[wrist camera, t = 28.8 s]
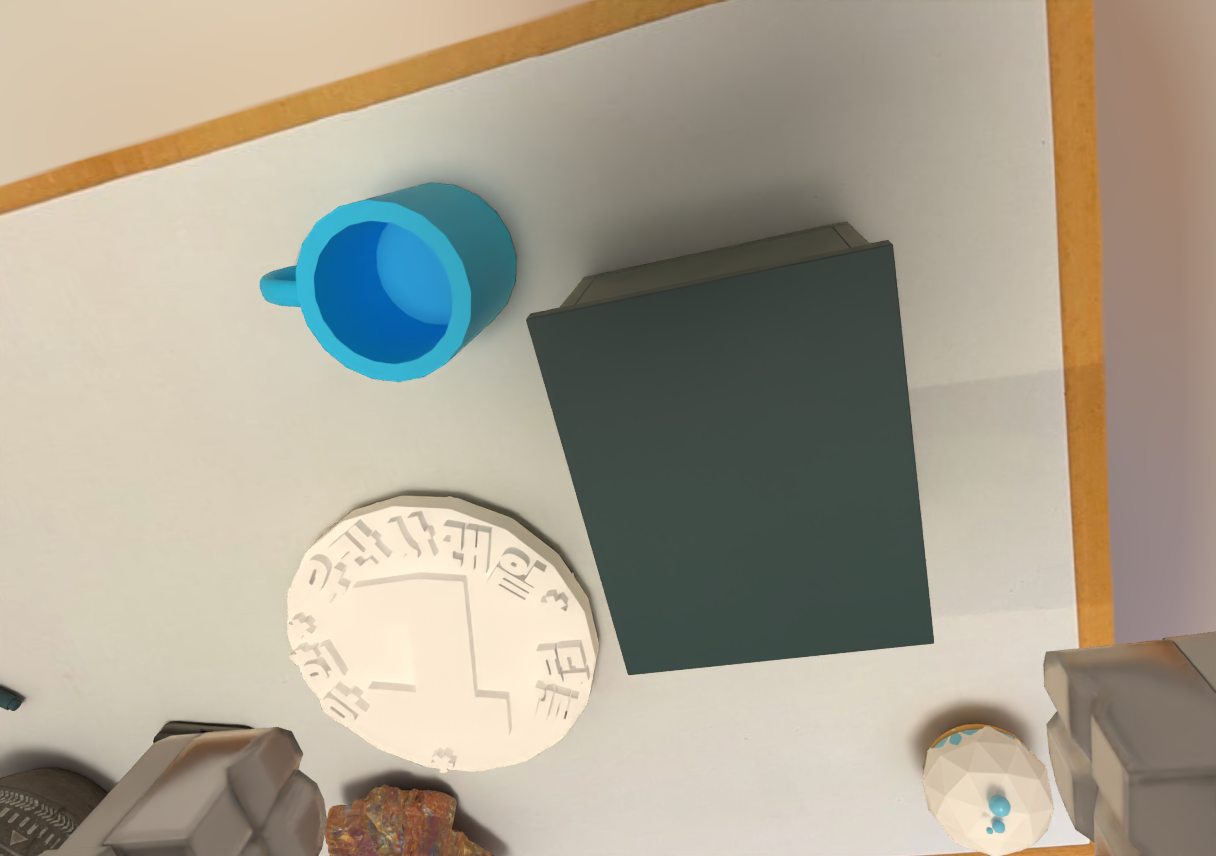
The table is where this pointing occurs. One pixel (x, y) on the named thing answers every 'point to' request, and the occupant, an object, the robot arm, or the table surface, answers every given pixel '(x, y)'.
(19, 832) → the planter
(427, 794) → the mineral specimen
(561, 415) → the lid
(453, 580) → the giant coin
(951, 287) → the table surface
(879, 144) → the table surface
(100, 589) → the table surface
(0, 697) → the pen
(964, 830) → the ornament
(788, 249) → the chest
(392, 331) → the mug
